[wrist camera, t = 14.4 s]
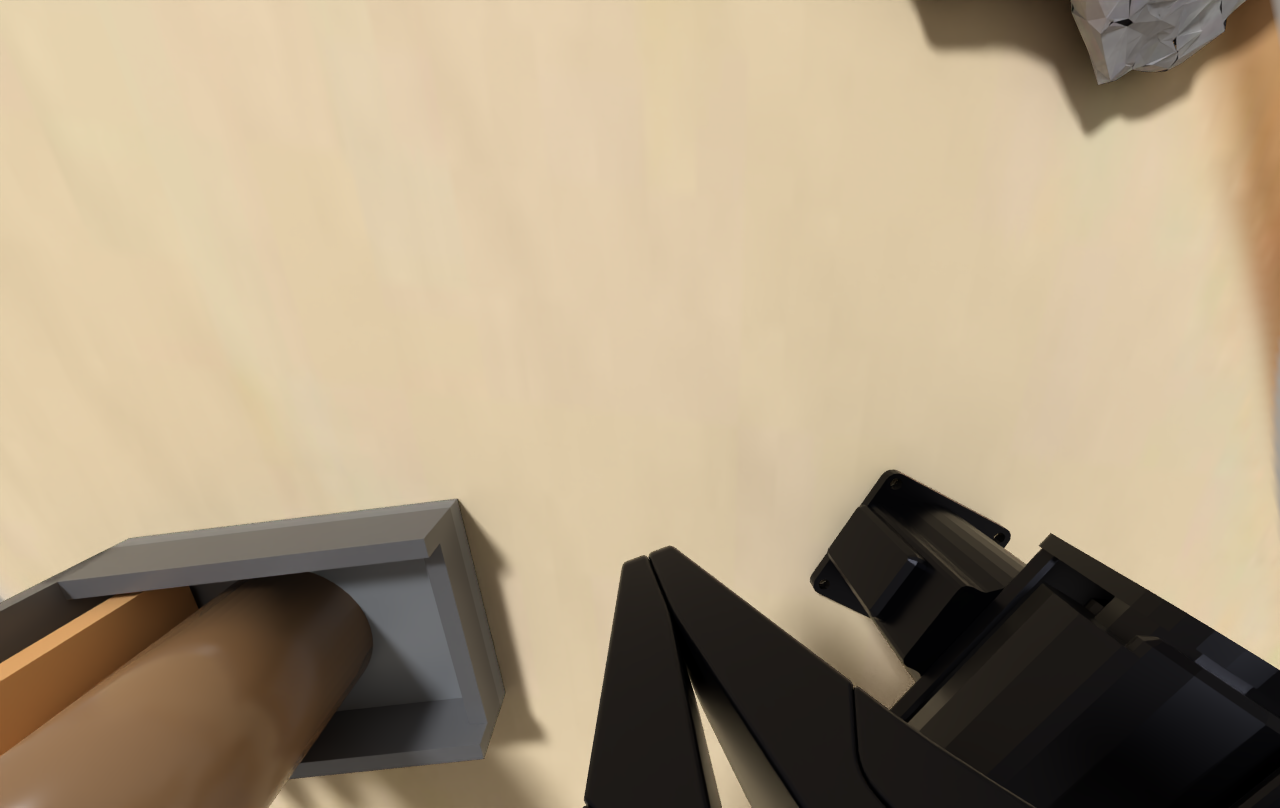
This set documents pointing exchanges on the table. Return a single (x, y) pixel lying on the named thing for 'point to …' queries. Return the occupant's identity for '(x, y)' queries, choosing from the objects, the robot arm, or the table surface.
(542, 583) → the table surface
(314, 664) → the jar
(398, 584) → the tray
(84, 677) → the block
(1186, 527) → the table surface
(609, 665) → the robot arm
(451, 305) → the table surface
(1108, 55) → the stone
